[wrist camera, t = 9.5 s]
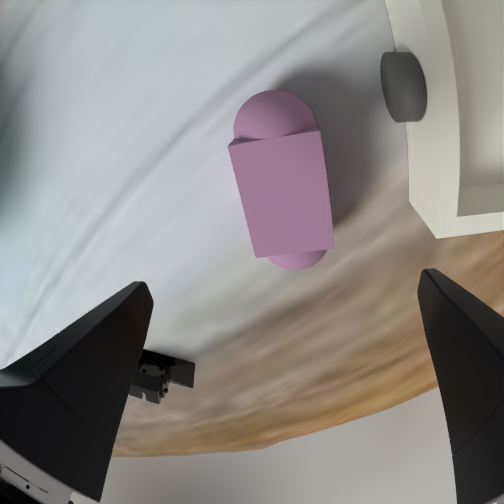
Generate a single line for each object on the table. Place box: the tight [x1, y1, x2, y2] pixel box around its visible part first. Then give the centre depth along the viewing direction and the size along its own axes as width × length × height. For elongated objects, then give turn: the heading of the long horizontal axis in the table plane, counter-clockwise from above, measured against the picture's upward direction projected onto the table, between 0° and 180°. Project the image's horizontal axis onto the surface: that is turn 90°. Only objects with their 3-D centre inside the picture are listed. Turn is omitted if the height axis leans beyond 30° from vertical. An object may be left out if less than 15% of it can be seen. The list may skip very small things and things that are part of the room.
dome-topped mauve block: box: [228, 90, 335, 270], centre depth 17 cm, size 11×4×4 cm, turn 13°
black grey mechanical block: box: [129, 349, 195, 404], centre depth 31 cm, size 12×7×5 cm, turn 80°
